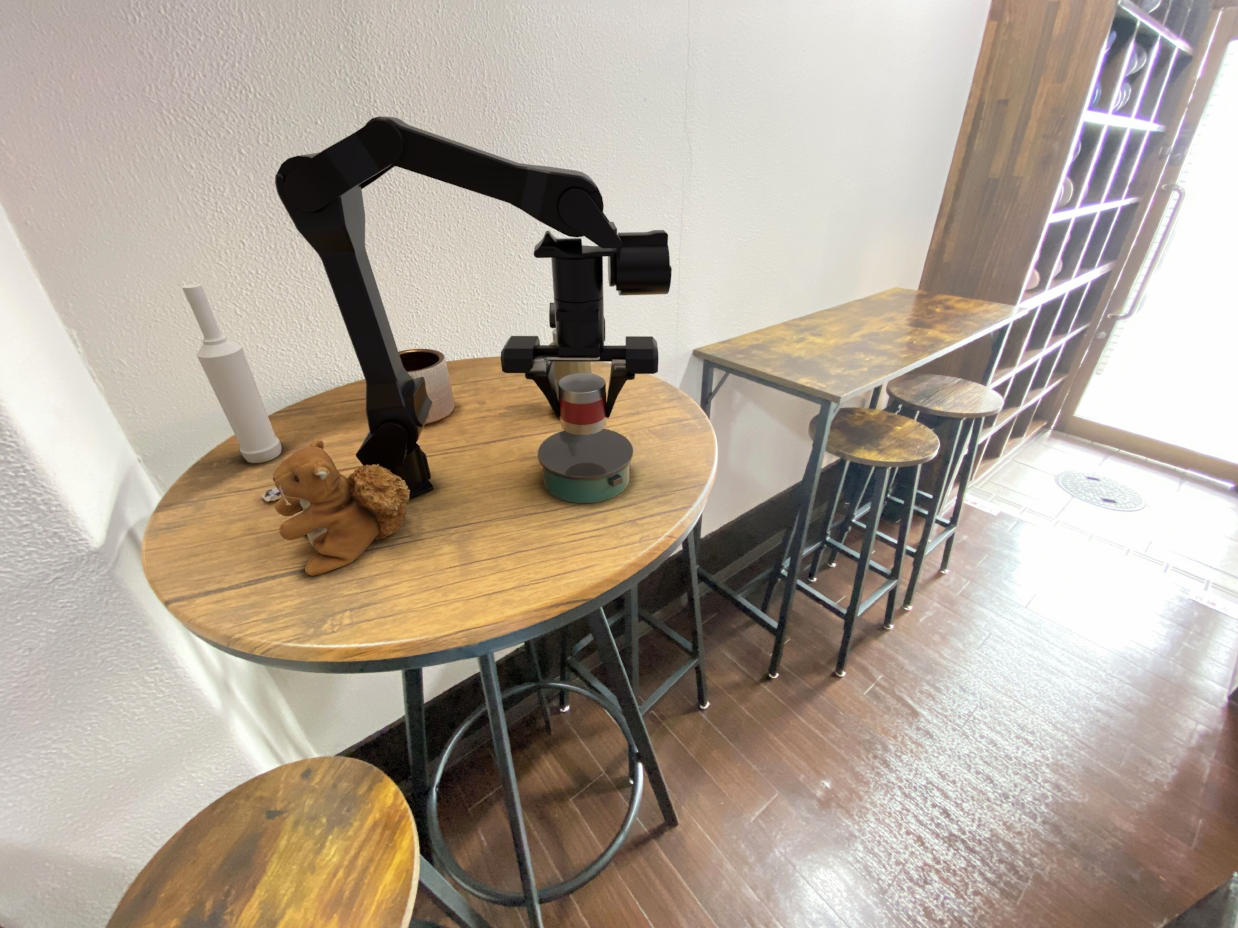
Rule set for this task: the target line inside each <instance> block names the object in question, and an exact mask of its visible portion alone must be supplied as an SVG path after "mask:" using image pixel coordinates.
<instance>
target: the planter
mask: <svg viewBox="0 0 1238 928" xmlns="http://www.w3.org/2000/svg"><path fill="white" fill-rule="evenodd" d="M398 352H399V356H400V359H401V362H402V365H403V367H404V369H405V370H406V371H407V372H408V374H409V375H410V376H411V377H412V378H413V379H415V378H419V377H424V379H425V385H426V392H427V394H428V397H429V398H430V399H431V401H432V402H433V403H432V406H431V408H430V410H429V415H428V418H427V420H426V422H425V425H424V426H426V425H431V424H434V423H438V422H439V421H442V420H443V419H445V418H447V417H448V416H450V414H451V413H452V412H453V411H454V410H455V399H454V393H453V389H452V384H451V379H450V374H449V370H448V365H447V359H446V355H445V354H444V353H443V352H442V351H439V350H436V349H431V348H411V349H410V348H409V349H404V350H398Z"/></svg>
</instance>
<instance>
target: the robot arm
mask: <svg viewBox="0 0 1238 928" xmlns="http://www.w3.org/2000/svg"><path fill="white" fill-rule="evenodd" d="M395 167H397V168H399V169H403V170H405V171H409V172H412V173H416V174H418V175H421V176H425V177H428V178H430V179H433V180H437V181H440V182H444V183H445V184H449V185H453V186H455V187H458V188H461V189H464V190H467V191H470V192H474V193H477V194H479V195H483V196H486V197H489V198H491V199H495V200H498V201H501V202H504V203H508V204H510V205H512V206H513V207H515V208H517V209H519V210H521V211H522V212H524V213H526V214H527V215H529V216H530V217H532V218H533V219H535V220H536V221H538V222H540V223H542V224H544V225H546V226H547V227H549V228H551V229H553V230H555V231H557V232H558V233H561V234H562V235H565V236H567V237H565V238H560V237H559V238H558V237H556V236H555V235H553V234H552V232H551V231H550V230H545V232H544V235H543V237H542V238H541V240H540V241H539V242H538V243H536V244H535V245H534V249H533V257H534V258H535V259H550V260H551V274H552V290H553V292H552V293H553V302H549V308H548V309H549V310H548V311H549V312H548V322H549V324H548V325H549V328H550V329H556V337H557V345H549V344H546V345H545V344H541V340H540V337H539V335H511V336H509V337H508V339H507V340H506V341H505V344H504V345H503V348H502V350H501V351H500V367H501V372H502V373H504V374H524V378H525V379H526V380H531V381H533V382H534V383H535V385H536V386H537V387H538V389H539V390H540V392H541V393H542V394H543V395H544V397H545V399H546V400H547V402H548V404H549V406H550V408H551V409H552V411H553V413H554V415H555V417H556V419H557V418H559V419H561V418H560V409H559V393H558V388H557V382H556V376H555V366H554V361H574V362H590V363H592V362H594V363H596V362H597V363H599V362H600V363H602V362H605V363H607V362H608V363H610V372H609V380H608V388H607V394H606V419H609V418H610V417H611V414H612V411H613V409H614V407H615V405H616V401H617V399H618V396H619V394H620V393H621V391H622V389H623V387H624V386H625V385H626V383H627V381H632V380H635V379H636V375H654V374H657V373H659V346H658V341H657V339H655V337H654V336H647V335H645V336H644V335H643V336H641V335H640V336H639V335H638V336H637V335H636V336H635V335H633V336H632V335H626V336H625V345H622V344H620V345H605V342H606V319H605V313H604V311H605V310H604V308H605V307H604V305H605V304H604V258H605V257H607V278H608V281H607V282H608V286H609V287H610V288H611V287H615V291H616V292H617V293H618V296H647V295H648V296H650V295H657V296H658V295H669V292H670V289H671V285H672V284H671V283H672V270H673V269H672V266H671V263H670V262H671V260H670V259H671V258H670V249H669V248H670V247H669V234H668V232H667V231H665V229H653V230H650V231H635V232H634V231H632V232H631V231H630V232H628V231H627V232H618V227H617V226H616V224H615V222H614V221H610V220H609V219H608V216H607V215H606V214H605V213H604V205H605V204H604V201H603V196H602V193H601V191H600V189H599V187H598V185H597V183H596V182H595V181H594V179H592V177H590V176H589V175H588V174H586V173H585V172H583V171H580V170H576V169H575V170H574V169H569V168H562V167H556V166H555V167H554V166H548V165H547V166H546V165H539V164H538V165H537V164H529V163H521V162H517V161H514V160H511V159H508V158H506V157H502V156H500V155H497V154H494V153H492V152H491V153H490V152H488V151H485V150H482V149H480V148H477V147H473V146H470V145H468V144H465V143H462V142H459V141H456V140H454V139H451V138H448V137H445V136H442V135H439V134H436V133H433V132H430V131H427V130H424V129H422V128H419V127H416V126H413V125H410V124H408V123H406V122H405V121H403V120H402V119H401V118H398V117H395V116H382V115H381V116H375V117H372V118H371V119H369V120H368V121H367V122H366V123H365V125H363V126H362V127H361V128H359V129H358V130H356V131H355V132H353V133H351V134H350V135H348V136H346V137H344V138H342V139H340V140H339V141H337V142H335V143H333V144H332V145H329V146H328V147H326V148H324V149H323V150H322V151H321V150H320V152H314V153H306V154H299V155H295V156H292V157H288V158H287V159H286V160H284V161H283V162H282V163H281V164H280V166H279V168H278V170H277V172H276V174H275V176H274V184H275V189H276V193H277V196H278V197H279V200H280V202H281V203H282V205H283V207H284V209H285V211H286V212H287V214H288V216H289V218H290V219H291V221H292V223H293V225H294V227H295V229H296V230H297V231H298V233H299V234H300V235H301V237H302V238H303V239H304V240H305V241H306V242H307V243H308V244H309V246H310V247H311V248H312V249H313V250H314V252H316V254H317V255H318V257H319V259H320V261H321V263H322V266H323V268H324V271H325V273H326V277H327V279H328V281H329V285H330V288H331V290H332V293H333V296H334V298H335V302H336V304H337V307H338V309H339V312H340V315H341V317H342V320H343V323H344V325H345V328H346V331H347V333H348V337H349V339H350V342H351V344H352V345H351V346H352V347H353V350H354V353H355V355H356V358H357V361H358V364H359V366H360V369H361V372H362V374H363V378H364V380H365V414H366V419H367V424H368V425H367V426H368V433H367V434H366V436H365V438H364V440H363V441H362V443H361V444H360V447H359V448H358V450H357V452H356V453H355V458H357V460H358V461H359V463H361V465H362V466H366V465H368V466H369V465H370V466H371V465H373V464H374V465H377V464H379V466H381V467H383V468H386V469H387V470H390V471H391V472H392V474H395V475H396V476H399V477H401V478H402V480H405V484H406V486H408V489H409V490H410V495H409V500H411V499H414V498H415V497H418V496H421V495H423V494H426V493H429V492H432V491H433V490H434V489H435V487H434V484H433V483H432V482H431V481H430V480H431V479H432V474H431V469H430V465H429V462H428V457H427V454H426V453H425V452H424V451H423V449H422V448H421V446H420V445H419V444H418V441H419V439H420V436H421V434H422V432H423V429H424V427H425V426H426V425H425V422H426V420H427V418H428V415H429V410H430V408H431V406H432V403H433V402H432V401H431V399H430V398H429V397H428V394H427V392H426V385H425V379H424V377H419V378H415V379H413V378H412V377H411V376H410V375H409V374H408V372H407V371H406V370H405V369H404V367H403V365H402V362H401V359H400V356H399V350H398V347H397V344H396V340H395V338H394V333H393V331H392V327H391V324H390V321H389V318H388V315H387V312H386V308H385V306H384V302H383V299H382V295H381V293H380V290H379V286H378V284H377V281H376V278H375V274H374V271H373V268H372V264H371V262H370V259H369V255H368V253H367V249H366V212H365V204H364V197H363V191H362V190H364V189H365V188H366V187H368V186H370V185H371V184H372V183H374V182H375V181H378V180H379V179H380V178H381V177H383V176H384V175H385V174H386V173H388V172H389V171H391V170H392V169H393V168H395ZM569 237H570V238H569ZM583 237H585V238H586V239H588V240H589V241H591V242H592V243H593V244H594V245H584V244H583V241H582V238H583Z"/></svg>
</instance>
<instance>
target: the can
mask: <svg viewBox="0 0 1238 928" xmlns="http://www.w3.org/2000/svg"><path fill="white" fill-rule="evenodd" d="M558 389H559V409H560V418H559V419H560V427H561V429H562V431H564V430H565V431H566V432H568V433H571V434H575V435H590V434H594V433H597V432H600V431H601V430H603V429H606V426H607V418H606V402H607V381H606V380H605V378H604V377H603V376H601V375H598V374H595V373H592V374H590V373H576V374H571V375H568V376H565V377H563V378H562V379H560V380H559V382H558Z"/></svg>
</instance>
